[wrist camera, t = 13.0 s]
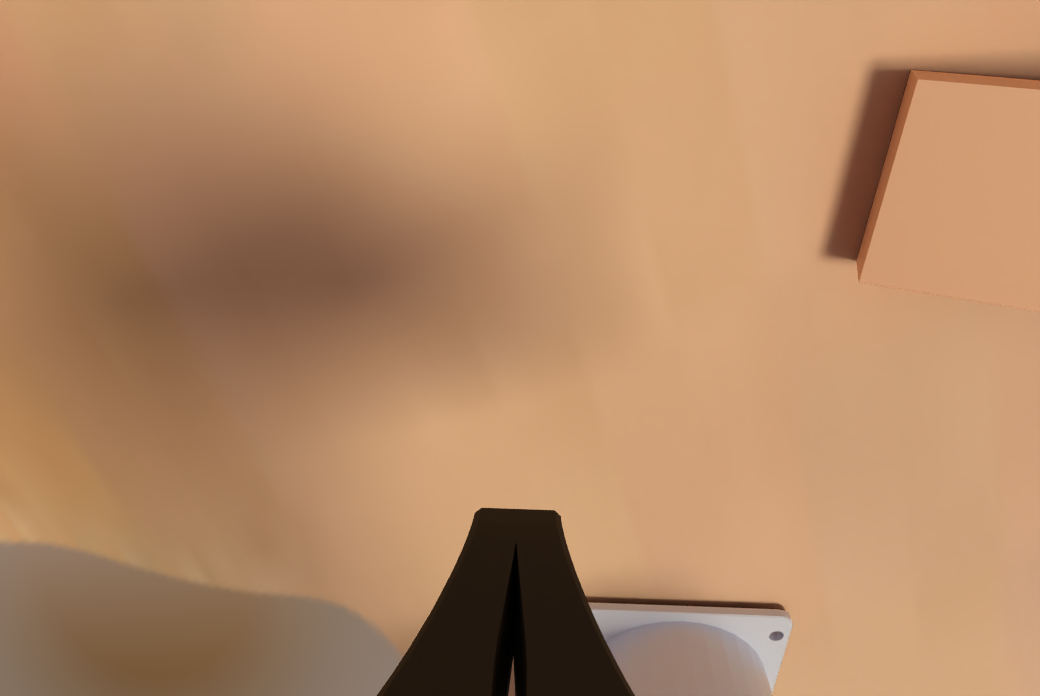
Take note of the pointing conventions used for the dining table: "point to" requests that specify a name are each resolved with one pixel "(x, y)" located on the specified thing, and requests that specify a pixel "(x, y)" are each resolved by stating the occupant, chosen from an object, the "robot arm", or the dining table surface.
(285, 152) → the dining table surface
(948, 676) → the dining table surface
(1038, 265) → the terracotta domino
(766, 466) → the dining table surface
